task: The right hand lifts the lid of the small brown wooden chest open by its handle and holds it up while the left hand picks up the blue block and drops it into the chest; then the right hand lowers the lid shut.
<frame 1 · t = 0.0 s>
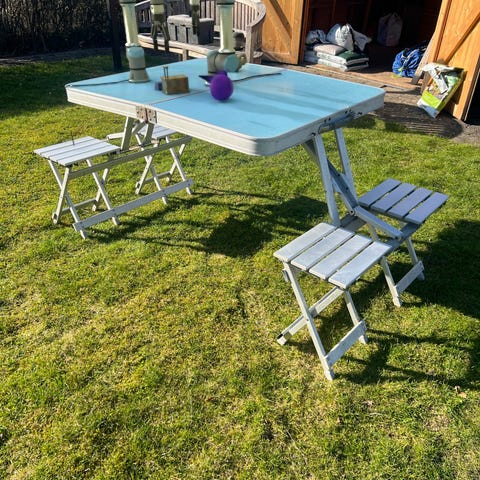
left hand: (196, 35, 349), 28 cm above the table, tool pointing down, fingers open, 13 cm apart
right hand: (161, 52, 274), 28 cm above the table, tool pointing down, fingers open, 13 cm apart
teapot: (235, 71, 368), on the table
toy: (218, 98, 286), on the table
lid: (173, 71, 298), point 13 cm above the table, hinge at -0.1°
chest: (175, 91, 305), on the table
block: (160, 89, 312), on the table
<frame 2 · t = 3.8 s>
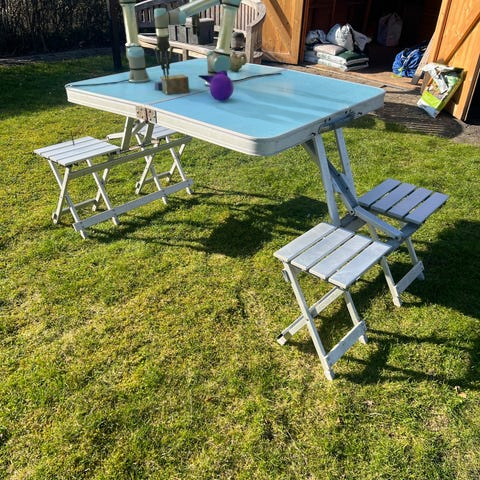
left hand: (196, 35, 349), 28 cm above the table, tool pointing down, fingers open, 13 cm apart
right hand: (166, 74, 297), 12 cm above the table, tool pointing down, fingers closed on lid, 2 cm apart
lid: (173, 71, 298), point 13 cm above the table, hinge at -0.1°, touching right hand
everything else where it was.
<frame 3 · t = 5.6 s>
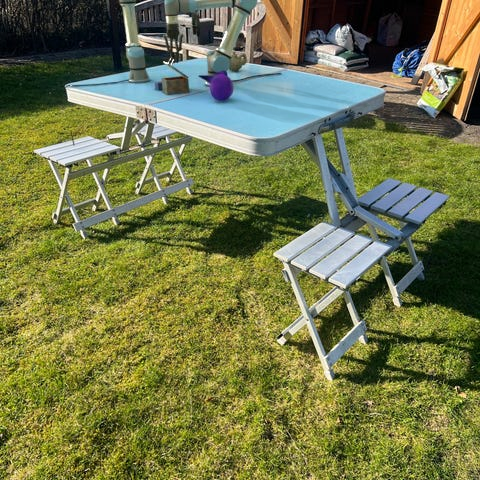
left hand: (196, 35, 349), 28 cm above the table, tool pointing down, fingers open, 13 cm apart
right hand: (175, 62, 296), 19 cm above the table, tool pointing down, fingers closed on lid, 2 cm apart
lid: (178, 64, 297), point 17 cm above the table, hinge at 36.9°, touching right hand
everything else where it was.
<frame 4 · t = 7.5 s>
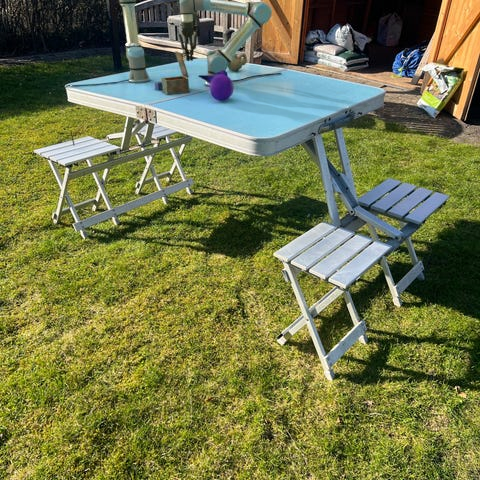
left hand: (196, 35, 349), 28 cm above the table, tool pointing down, fingers open, 13 cm apart
right hand: (189, 60, 299), 19 cm above the table, tool pointing down, fingers closed on lid, 2 cm apart
lid: (187, 62, 299), point 18 cm above the table, hinge at 76.3°, touching right hand
everything else where it was.
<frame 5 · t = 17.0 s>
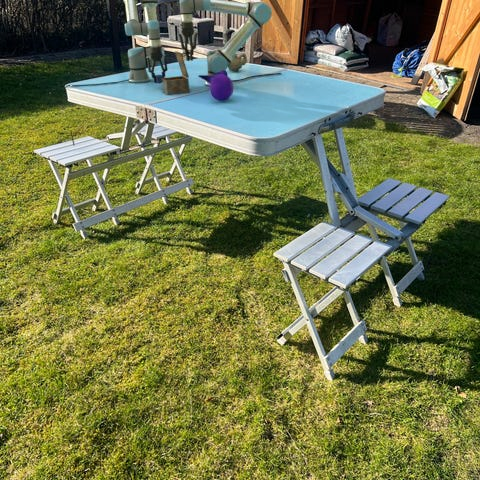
left hand: (159, 82, 310), 5 cm above the table, tool pointing down, fingers closed on block, 6 cm apart
right hand: (189, 60, 299), 19 cm above the table, tool pointing down, fingers closed on lid, 2 cm apart
lid: (187, 62, 299), point 18 cm above the table, hinge at 76.3°, touching right hand
block: (159, 82, 311), point 5 cm above the table, touching left hand
everything else where it was.
when the left hand's fingers open (16 cm above the table, at t = 20.0 s): block drops 15 cm, resting on chest.
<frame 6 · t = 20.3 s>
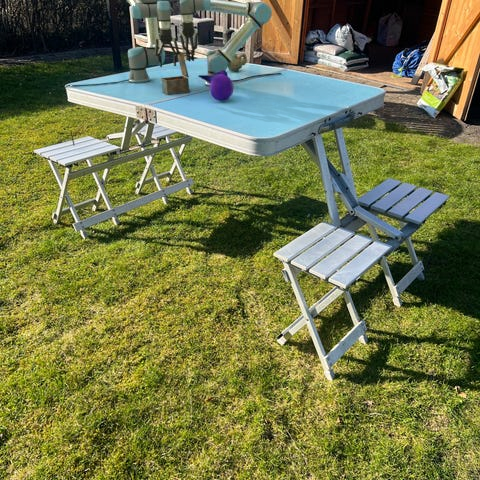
left hand: (168, 66, 295), 17 cm above the table, tool pointing down, fingers open, 9 cm apart
right hand: (191, 60, 300), 19 cm above the table, tool pointing down, fingers closed on lid, 2 cm apart
lid: (187, 62, 299), point 18 cm above the table, hinge at 80.2°, touching left hand, right hand
chest: (176, 91, 305), on the table, touching block
block: (171, 91, 303), point 1 cm above the table, touching chest
everything else where it was.
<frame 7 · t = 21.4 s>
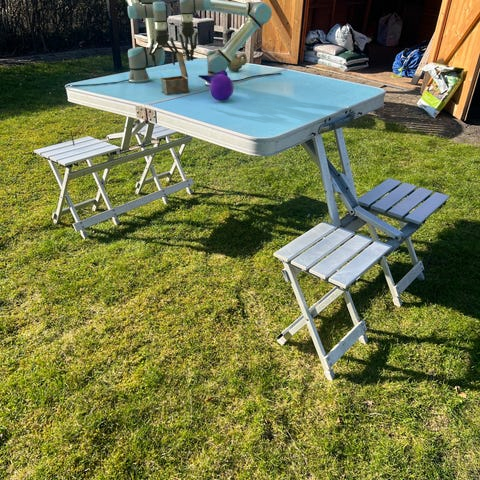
left hand: (164, 65, 294), 18 cm above the table, tool pointing down, fingers open, 12 cm apart
right hand: (190, 60, 300), 19 cm above the table, tool pointing down, fingers closed on lid, 2 cm apart
lid: (187, 62, 299), point 18 cm above the table, hinge at 79.7°, touching right hand
everything else where it was.
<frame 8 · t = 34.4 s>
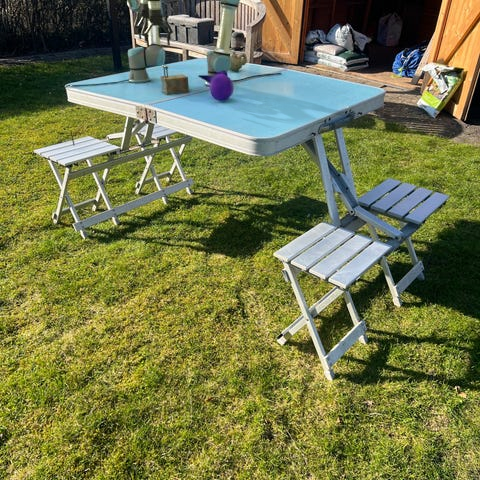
left hand: (150, 38, 308), 32 cm above the table, tool pointing down, fingers open, 13 cm apart
right hand: (158, 46, 287), 29 cm above the table, tool pointing down, fingers open, 13 cm apart
lid: (173, 71, 298), point 13 cm above the table, hinge at -0.1°
everything else where it was.
at the end: block inside the target area in the chest (3.3 cm from its centre), point 0.8 cm above the chest's base; lid at +0° (first picture: +0°); the left hand is holding nothing; the right hand is holding nothing; chest tilted 0°; chest moved 0.2 cm from its start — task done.
